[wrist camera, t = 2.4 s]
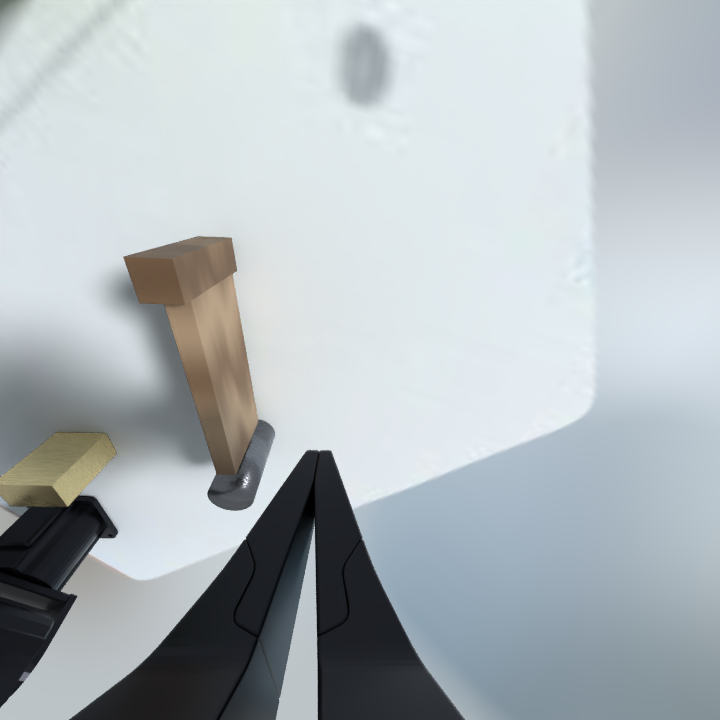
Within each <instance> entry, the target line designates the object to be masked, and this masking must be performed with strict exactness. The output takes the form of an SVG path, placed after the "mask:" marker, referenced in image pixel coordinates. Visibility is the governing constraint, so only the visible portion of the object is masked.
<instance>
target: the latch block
mask: <svg viewBox="0 0 720 720" xmlns="http://www.w3.org/2000/svg"><path fill="white" fill-rule="evenodd" d="M116 454H117V453H116V451H115V449H114V447H113V445H112V444H111V442H110V440H109V438H108V436H107V434H106V433H66V432H56V433H55V434H54V435H52V436H51V437H50V438H49V439H47V440H46V441H45V442H44V443H42V444H41V445H40V446H39V447H37V448H36V449H35V450H34V451H32V452H31V453H30V454H29V455H27V456H26V457H25V458H24V459H22V460H21V461H20V462H19V463H17V464H16V465H15V466H14V467H12V468H11V469H10V470H9V471H7V472H6V473H5V474H4V475H3V476H1V477H0V495H1V496H2V498H3V499H4V500H5V501H6V502H7V503H8V504H9V505H10V506H36V507H68V506H69V505H70V504H71V503H72V502H73V501H74V499H75V498H76V497H77V496H78V495H79V494H80V493H81V492H82V491H83V490H84V489H85V487H86V486H87V485H88V484H89V483H90V482H91V481H92V480H93V479H94V478H95V476H96V475H97V474H98V473H99V472H100V471H101V470H102V469H103V468H104V467H105V466H106V464H107V463H108V462H109V461H110V460H111V459H112V458H113V457H114V456H115V455H116Z"/></svg>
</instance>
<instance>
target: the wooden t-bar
mask: <svg viewBox="0 0 720 720" xmlns="http://www.w3.org/2000/svg"><path fill="white" fill-rule="evenodd" d="M123 258H124V260H125V263H126V266H127V269H128V272H129V275H130V277H131V280H132V283H133V286H134V289H135V292H136V294H137V297H138V300H139V303H146V304H164V305H165V309H166V312H167V315H168V318H169V322H170V325H171V328H172V331H173V334H174V338H175V341H176V344H177V347H178V351H179V354H180V357H181V360H182V364H183V367H184V370H185V373H186V376H187V380H188V383H189V386H190V389H191V393H192V396H193V399H194V402H195V406H196V409H197V412H198V415H199V419H200V422H201V425H202V428H203V431H204V435H205V438H206V441H207V444H208V448H209V451H210V454H211V457H212V461H213V464H214V467H215V470H216V473H217V475H236V473H237V471H238V469H239V466H240V464H241V461H242V459H243V457H244V454H245V452H246V450H247V447H248V445H249V442H250V440H251V438H252V435H253V433H254V430H255V428H256V426H257V423H258V417H257V411H256V405H255V400H254V394H253V388H252V382H251V377H250V371H249V365H248V360H247V354H246V348H245V343H244V337H243V331H242V326H241V320H240V314H239V309H238V303H237V297H236V291H235V286H234V280H233V273H234V272H236V271H237V268H236V262H235V256H234V250H233V244H232V238H225V237H202V236H198V237H194V238H191V239H187V240H183V241H180V242H176V243H172V244H169V245H165V246H161V247H157V248H154V249H150V250H146V251H143V252H139V253H135V254H132V255H128V256H124V257H123Z"/></svg>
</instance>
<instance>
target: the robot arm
mask: <svg viewBox="0 0 720 720" xmlns="http://www.w3.org/2000/svg"><path fill="white" fill-rule="evenodd" d="M26 507H27V508H28V510H27V511H26V512H25V513H24V514H23V515H22V516H21V517H20V518H19V519H18V520H17V521H16V522H15V523H14V524H13V525H12V526H10V527H9V528H8V529H7V530H6V531H5V532H4V533H3V534H2V535H1V536H0V707H1V706H2V705H3V704H4V703H5V702H6V701H7V700H8V698H9V697H10V696H11V695H12V694H13V693H14V692H15V691H16V690H17V689H18V688H19V687H20V686H21V684H22V683H23V682H24V681H25V680H26V678H27V677H28V676H29V674H30V673H31V672H32V670H33V669H34V668H35V666H36V665H37V663H38V662H39V661H40V659H41V657H42V656H43V654H44V653H45V651H46V650H47V648H48V646H49V644H50V643H51V641H52V639H53V637H54V636H55V634H56V632H57V630H58V629H59V627H60V625H61V624H62V622H63V620H64V619H65V617H66V615H67V613H68V612H69V610H70V608H71V606H72V605H73V603H74V601H75V600H76V598H77V596H76V595H74V594H70V595H69V594H66V593H63V592H61V590H62V588H63V587H64V585H65V584H66V583H67V581H68V580H69V579H70V577H71V576H72V575H73V573H74V572H75V571H76V569H77V568H78V567H79V565H80V564H81V563H82V561H83V560H84V558H85V557H86V556H87V555H88V553H89V552H90V550H91V549H92V548H93V546H94V545H95V544H96V542H97V541H98V540H99V538H115V537H116V535H117V534H118V531H117V530H116V528H115V527H114V525H113V524H112V522H111V521H110V519H109V518H108V516H107V515H106V513H105V512H104V510H103V509H102V507H101V506H100V504H99V503H98V501H97V500H96V499H95V498H92V497H76V498H75V499H74V501H73V502H72V503H71V504H70V505H69V506H68V507H36V506H26ZM314 524H315V551H316V552H315V553H316V603H317V655H318V656H317V658H318V720H465V719H464V718H463V717H462V715H461V714H460V712H459V711H458V710H457V709H456V707H455V706H454V704H453V703H452V702H451V700H450V699H449V698H448V697H447V695H446V694H445V693H444V691H443V690H442V689H441V687H440V686H439V685H438V683H437V682H436V681H435V679H434V678H433V677H432V675H431V674H430V673H429V671H428V670H427V669H426V667H425V666H424V664H423V663H422V661H421V660H420V658H419V656H418V654H417V653H416V651H415V649H414V648H413V646H412V644H411V642H410V640H409V638H408V636H407V635H406V633H405V631H404V629H403V627H402V625H401V623H400V621H399V619H398V617H397V615H396V613H395V611H394V609H393V607H392V605H391V603H390V601H389V599H388V597H387V595H386V593H385V591H384V589H383V587H382V584H381V582H380V580H379V578H378V576H377V574H376V571H375V569H374V567H373V564H372V562H371V560H370V556H369V554H368V552H367V549H366V546H365V543H364V541H363V540H362V535H361V532H360V529H359V527H358V524H357V521H356V518H355V516H354V513H353V510H352V507H351V504H350V502H349V499H348V496H347V493H346V490H345V488H344V485H343V482H342V479H341V476H340V474H339V471H338V468H337V465H336V463H335V460H334V457H333V454H332V452H331V451H330V450H321V451H318V450H307V451H306V452H305V454H304V455H303V457H302V458H301V459H300V461H299V462H298V464H297V465H296V467H295V468H294V469H293V471H292V472H291V474H290V475H289V477H288V478H287V479H286V481H285V482H284V484H283V485H282V487H281V488H280V489H279V491H278V492H277V494H276V495H275V497H274V498H273V499H272V501H271V502H270V504H269V505H268V507H267V508H266V509H265V511H264V512H263V514H262V515H261V517H260V518H259V519H258V521H257V522H256V524H255V525H254V527H253V528H252V529H251V531H250V532H249V534H248V535H247V537H246V540H244V541H243V542H242V544H241V545H240V546H239V548H238V549H237V551H236V552H235V553H234V555H233V556H232V558H231V559H230V561H229V562H228V563H227V564H226V566H225V567H224V568H223V570H222V571H221V572H220V573H219V575H218V576H217V577H216V579H215V580H214V581H213V582H212V583H211V585H210V586H209V587H208V588H207V590H206V591H205V592H204V593H203V594H202V595H201V597H200V598H199V599H198V600H197V601H196V602H195V604H194V605H193V606H192V607H191V609H190V610H189V611H188V612H187V613H186V614H185V616H184V617H183V618H182V619H181V620H180V622H179V623H178V624H177V625H176V626H175V627H174V628H173V630H172V631H171V632H170V633H169V635H168V636H167V637H166V638H165V639H164V640H163V641H162V643H161V644H160V645H159V646H158V647H157V648H156V649H155V650H154V651H153V652H152V654H151V655H150V656H149V657H148V658H146V660H144V661H143V662H142V663H141V664H140V665H139V666H138V667H137V668H136V669H134V670H133V671H132V672H131V673H130V674H129V675H127V676H126V677H125V678H123V679H122V680H121V681H119V682H118V683H117V684H115V685H114V686H113V687H112V688H110V689H109V690H108V691H106V692H105V693H104V694H102V695H101V696H100V697H98V698H97V699H96V700H94V701H93V702H92V703H90V704H89V705H88V706H87V707H85V708H84V709H83V710H81V711H80V712H79V713H78V714H76V715H75V716H73V717H72V718H71V719H69V720H276V715H277V710H278V704H279V698H280V694H281V689H282V684H283V679H284V674H285V669H286V664H287V659H288V654H289V649H290V644H291V639H292V634H293V629H294V624H295V619H296V614H297V609H298V604H299V599H300V594H301V589H302V584H303V579H304V574H305V569H306V564H307V559H308V554H309V549H310V544H311V539H312V534H313V529H314Z"/></svg>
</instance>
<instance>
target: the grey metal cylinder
mask: <svg viewBox="0 0 720 720" xmlns="http://www.w3.org/2000/svg"><path fill="white" fill-rule="evenodd" d="M274 437H275V431H274V429H273V427H272V426H271V425H270V424H268V423H267V422H265V421H262V420H258V423H257V426H256V428H255V430H254V433H253V435H252V438H251V440H250V442H249V445H248V447H247V450H246V452H245V454H244V457H243V459H242V461H241V464H240V466H239V469H238V471H237V473H236V475H217V474H216V476H215V478H214V480H213V482H212V484H211V486H210V488H209V490H208V498H209V500H210V501H211V502H212V503H213V504H215V505H216V506H218V507H220V508H223V509H226V510H234V511H237V510H243V509H246V508H248V507H250V506H251V505H252V504H253V501H254V498H255V495H256V492H257V489H258V486H259V483H260V480H261V477H262V474H263V471H264V467H265V464H266V461H267V458H268V455H269V452H270V449H271V446H272V443H273V440H274Z"/></svg>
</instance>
